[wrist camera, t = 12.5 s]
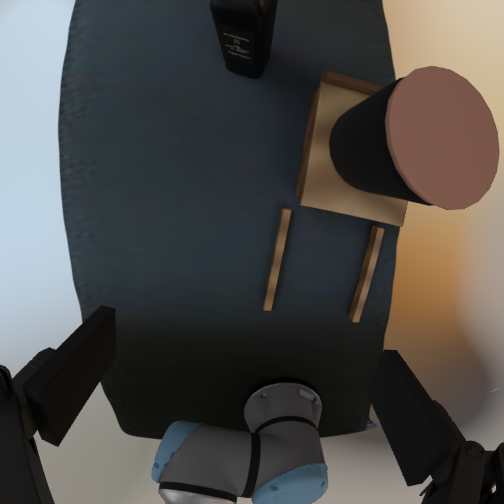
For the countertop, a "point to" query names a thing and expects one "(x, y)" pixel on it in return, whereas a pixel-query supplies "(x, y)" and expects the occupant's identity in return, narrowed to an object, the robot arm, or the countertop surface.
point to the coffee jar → (419, 141)
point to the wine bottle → (245, 33)
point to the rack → (335, 182)
